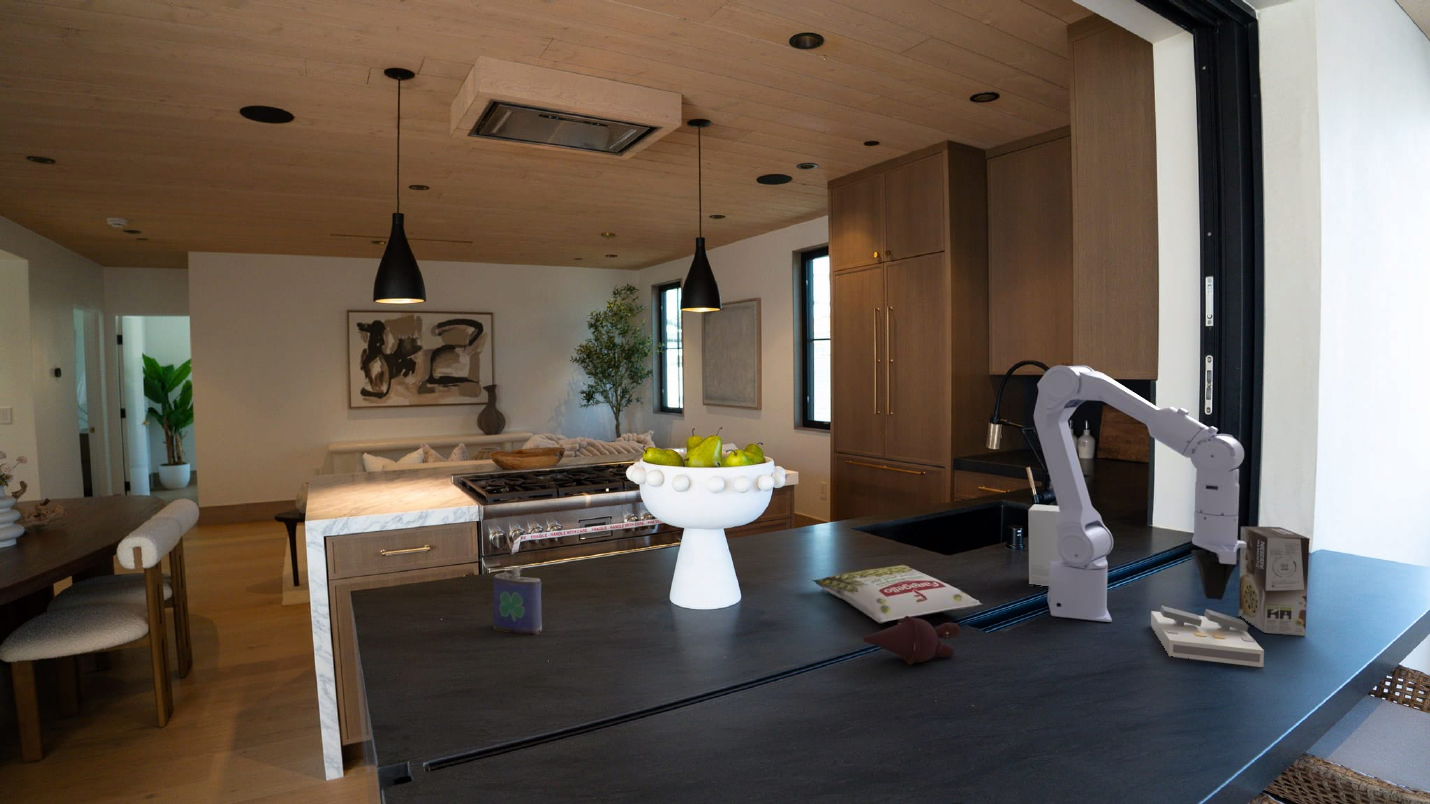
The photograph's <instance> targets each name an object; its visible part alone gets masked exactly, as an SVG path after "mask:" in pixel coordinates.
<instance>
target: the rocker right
mask: <svg viewBox="0 0 1430 804" xmlns="http://www.w3.org/2000/svg"><path fill="white" fill-rule="evenodd" d="M1203 615H1204V616H1205V617H1206V618H1207V619H1208V620H1209V621H1212V622H1216V623H1218V625H1219V626H1220V627H1221V628H1222V629H1225V630H1228V631H1229V630H1230V627H1232V628H1235V629H1238V630H1241V631H1244V632H1247V633H1248V629H1249V627H1250V626H1249V625H1248V624H1247V623H1246V621H1245V620H1244V619H1240V618H1237V617H1235V616H1234V617H1233V616H1230V615H1227V614H1224V613H1221V612H1218V611H1214V610H1211V609H1207V608H1205V611H1204V613H1203Z"/></svg>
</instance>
